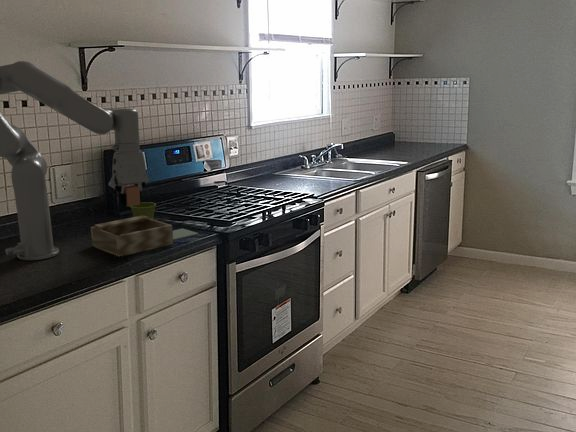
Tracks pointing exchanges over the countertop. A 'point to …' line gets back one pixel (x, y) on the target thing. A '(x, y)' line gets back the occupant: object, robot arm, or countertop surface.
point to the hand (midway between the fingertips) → (130, 203)
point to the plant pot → (144, 209)
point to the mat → (183, 234)
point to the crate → (131, 235)
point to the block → (132, 195)
